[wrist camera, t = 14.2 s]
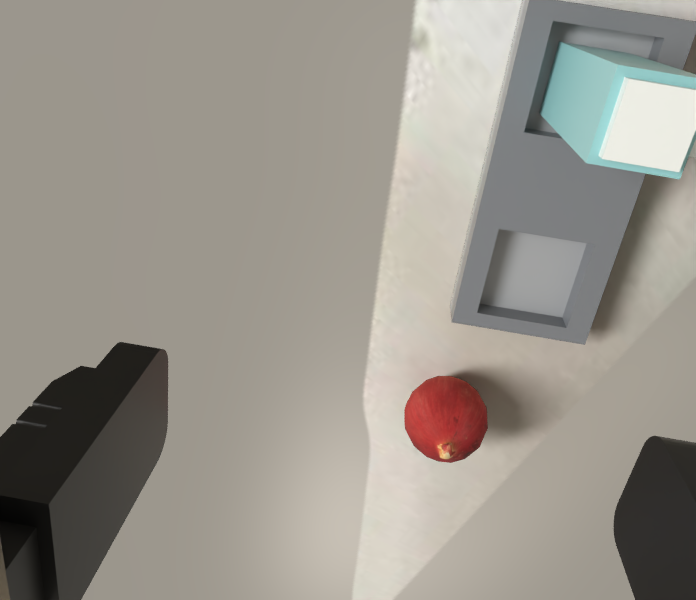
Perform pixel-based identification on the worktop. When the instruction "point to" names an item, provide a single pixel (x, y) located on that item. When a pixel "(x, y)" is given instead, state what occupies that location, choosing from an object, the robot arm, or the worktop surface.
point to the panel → (551, 183)
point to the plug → (622, 109)
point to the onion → (446, 419)
